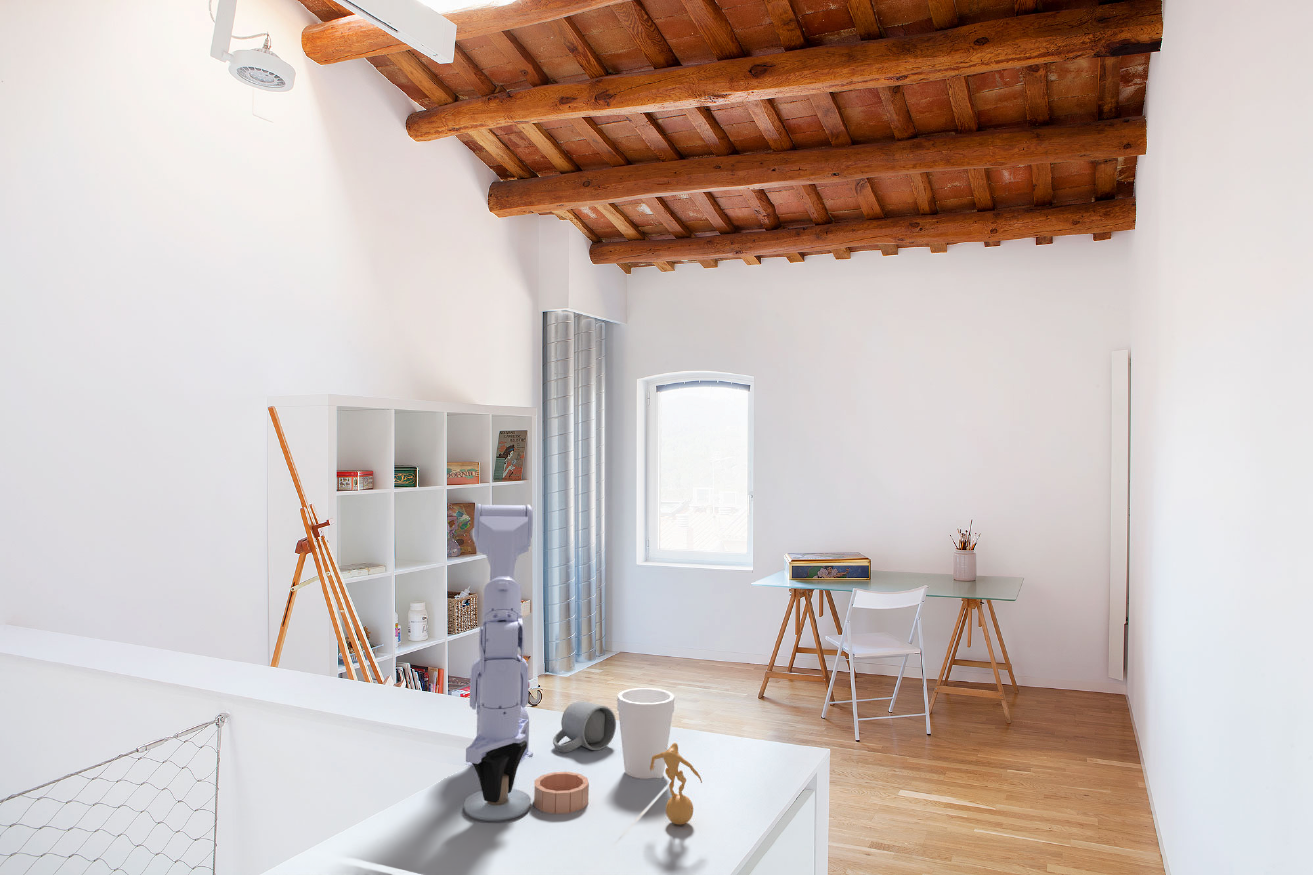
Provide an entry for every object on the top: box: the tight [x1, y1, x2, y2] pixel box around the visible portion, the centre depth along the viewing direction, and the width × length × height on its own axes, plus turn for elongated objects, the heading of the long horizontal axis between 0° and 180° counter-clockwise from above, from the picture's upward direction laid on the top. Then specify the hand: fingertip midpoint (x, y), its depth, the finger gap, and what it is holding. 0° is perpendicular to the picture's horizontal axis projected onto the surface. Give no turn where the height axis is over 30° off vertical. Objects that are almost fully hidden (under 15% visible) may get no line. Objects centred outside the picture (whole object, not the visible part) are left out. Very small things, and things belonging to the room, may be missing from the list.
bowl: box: [533, 771, 590, 815], centre depth 122 cm, size 8×8×4 cm
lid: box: [463, 773, 532, 821], centre depth 120 cm, size 10×10×4 cm
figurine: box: [650, 742, 703, 826], centre depth 116 cm, size 8×6×12 cm
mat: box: [462, 803, 533, 824], centre depth 120 cm, size 10×10×1 cm
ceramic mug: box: [552, 700, 617, 754], centre depth 148 cm, size 11×8×8 cm
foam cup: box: [616, 687, 675, 780], centre depth 135 cm, size 10×9×13 cm
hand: (497, 796), depth 120 cm, fingers closed on lid, 3 cm apart
